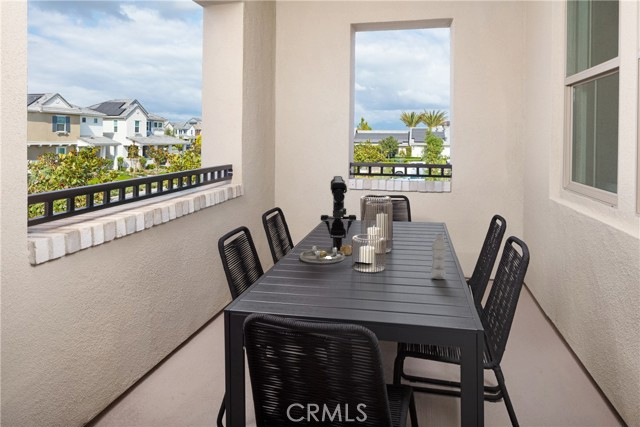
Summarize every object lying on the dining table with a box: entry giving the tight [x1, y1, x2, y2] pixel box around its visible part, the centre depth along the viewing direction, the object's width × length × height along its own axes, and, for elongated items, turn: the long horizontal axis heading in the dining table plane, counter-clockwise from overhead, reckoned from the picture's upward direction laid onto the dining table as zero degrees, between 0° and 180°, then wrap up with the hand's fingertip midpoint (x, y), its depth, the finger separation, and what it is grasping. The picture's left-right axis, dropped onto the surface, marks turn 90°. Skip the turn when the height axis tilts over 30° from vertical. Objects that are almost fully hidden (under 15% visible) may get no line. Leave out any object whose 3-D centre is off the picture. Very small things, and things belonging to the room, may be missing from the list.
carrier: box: [299, 245, 346, 265], centre depth 253 cm, size 23×23×5 cm
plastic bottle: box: [430, 233, 448, 280], centre depth 213 cm, size 6×7×20 cm
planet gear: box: [339, 244, 352, 256], centre depth 264 cm, size 7×7×4 cm
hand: (338, 234), depth 253 cm, fingers open, 9 cm apart
